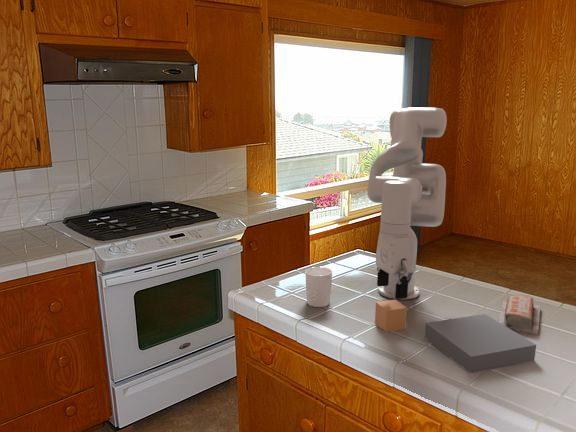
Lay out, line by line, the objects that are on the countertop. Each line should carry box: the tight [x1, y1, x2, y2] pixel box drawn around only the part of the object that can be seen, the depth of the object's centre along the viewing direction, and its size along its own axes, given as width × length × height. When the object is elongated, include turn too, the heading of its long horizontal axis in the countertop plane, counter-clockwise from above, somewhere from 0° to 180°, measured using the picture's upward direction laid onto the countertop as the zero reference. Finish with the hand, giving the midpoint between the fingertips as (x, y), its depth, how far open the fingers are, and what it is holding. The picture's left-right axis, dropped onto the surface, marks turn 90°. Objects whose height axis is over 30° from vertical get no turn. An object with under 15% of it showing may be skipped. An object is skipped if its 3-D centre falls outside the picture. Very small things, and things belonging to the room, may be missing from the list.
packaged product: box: [498, 294, 541, 335], centre depth 142 cm, size 18×5×10 cm
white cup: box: [305, 266, 333, 308], centre depth 151 cm, size 8×8×10 cm
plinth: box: [424, 313, 537, 374], centre depth 125 cm, size 18×18×4 cm
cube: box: [374, 299, 408, 333], centre depth 137 cm, size 6×6×6 cm
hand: (391, 291), depth 135 cm, fingers open, 9 cm apart
